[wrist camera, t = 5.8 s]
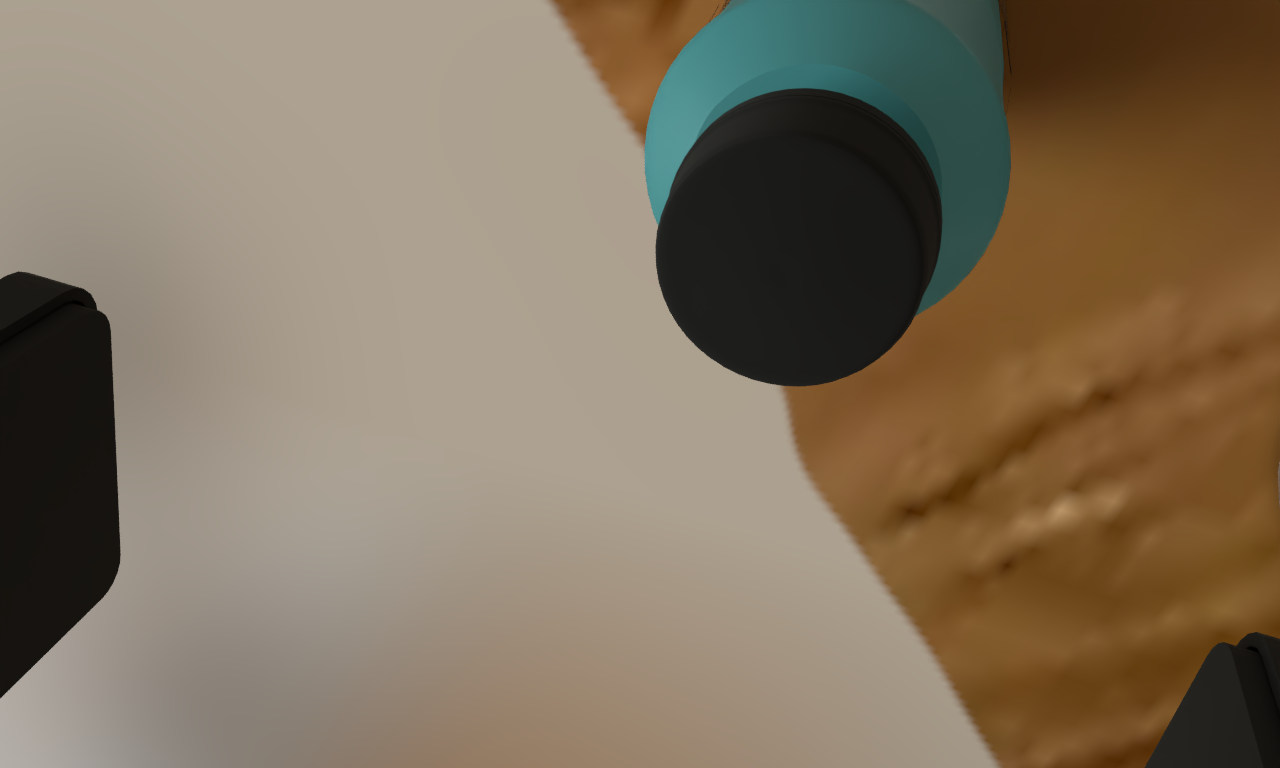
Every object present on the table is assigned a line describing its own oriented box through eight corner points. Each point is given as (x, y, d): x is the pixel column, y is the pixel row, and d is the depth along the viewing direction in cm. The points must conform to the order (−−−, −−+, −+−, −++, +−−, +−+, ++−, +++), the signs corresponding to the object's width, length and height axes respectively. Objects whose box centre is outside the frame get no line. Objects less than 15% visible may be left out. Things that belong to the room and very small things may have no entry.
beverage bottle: (821, -160, 32) (631, -55, 15) (1053, -65, 32) (1126, 151, 15) (733, 68, 36) (497, 364, 19) (943, 156, 35) (899, 540, 18)
